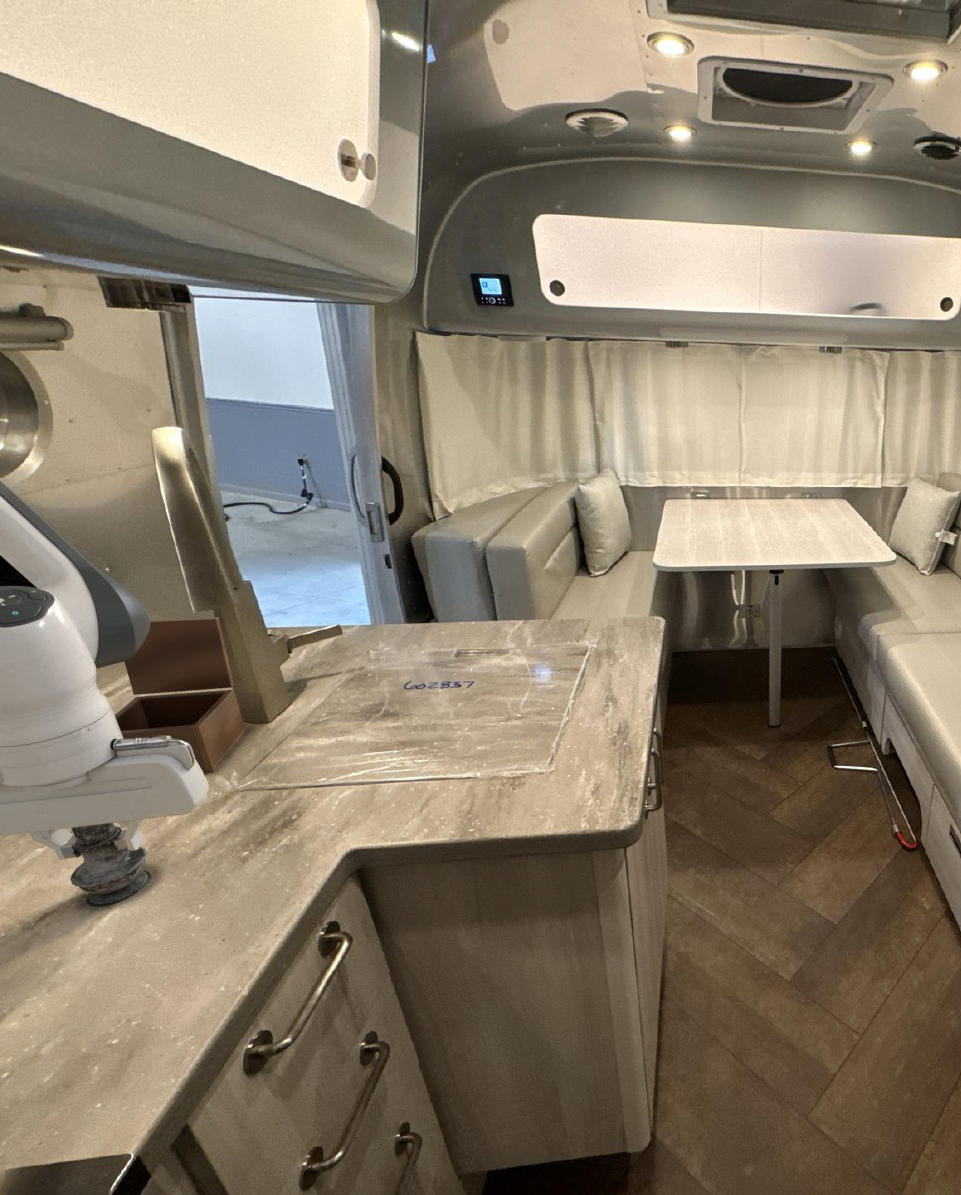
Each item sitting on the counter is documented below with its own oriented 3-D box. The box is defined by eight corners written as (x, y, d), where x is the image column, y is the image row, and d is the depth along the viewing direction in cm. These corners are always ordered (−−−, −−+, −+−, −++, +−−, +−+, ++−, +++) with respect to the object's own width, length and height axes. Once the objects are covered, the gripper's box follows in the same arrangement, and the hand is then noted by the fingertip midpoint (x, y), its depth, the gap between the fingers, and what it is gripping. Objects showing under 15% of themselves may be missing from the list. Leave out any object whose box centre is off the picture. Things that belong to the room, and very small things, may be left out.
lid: (215, 618, 92) (232, 608, 96) (113, 623, 88) (135, 612, 93) (231, 687, 95) (247, 675, 99) (133, 695, 91) (153, 681, 96)
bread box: (214, 773, 90) (198, 727, 87) (108, 784, 86) (88, 736, 83) (246, 733, 98) (233, 689, 96) (152, 741, 95) (136, 696, 92)
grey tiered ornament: (67, 903, 69) (25, 816, 65) (131, 863, 75) (96, 780, 70) (108, 917, 68) (68, 829, 64) (170, 876, 73) (137, 792, 69)
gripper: (201, 717, 70) (233, 817, 75) (-51, 737, 64) (3, 844, 69) (169, 752, 64) (206, 856, 70) (-111, 777, 58) (-48, 890, 63)
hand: (103, 850), depth 69 cm, fingers closed on grey tiered ornament, 3 cm apart
